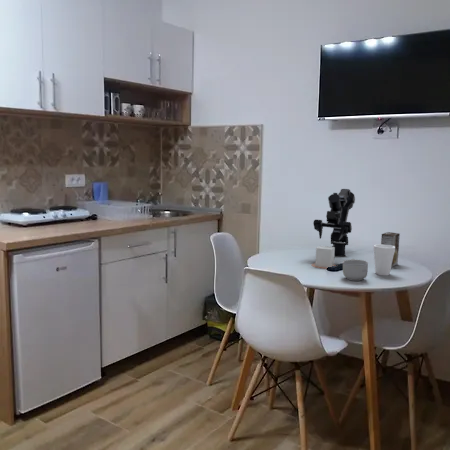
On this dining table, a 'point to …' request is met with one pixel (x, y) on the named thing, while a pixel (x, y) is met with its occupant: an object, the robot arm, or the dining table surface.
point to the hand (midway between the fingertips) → (329, 239)
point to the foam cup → (383, 258)
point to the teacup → (355, 269)
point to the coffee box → (391, 240)
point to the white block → (325, 256)
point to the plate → (320, 267)
